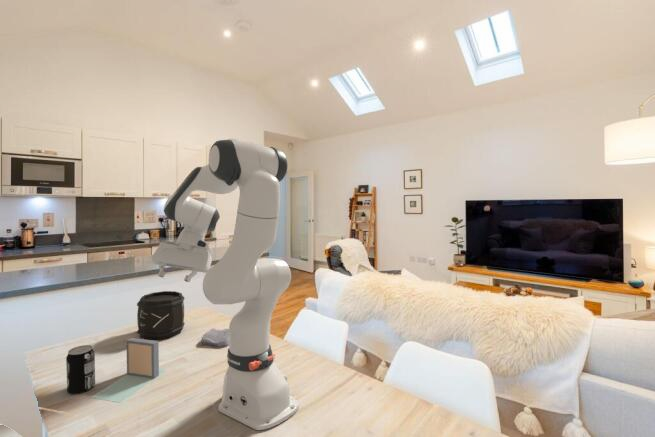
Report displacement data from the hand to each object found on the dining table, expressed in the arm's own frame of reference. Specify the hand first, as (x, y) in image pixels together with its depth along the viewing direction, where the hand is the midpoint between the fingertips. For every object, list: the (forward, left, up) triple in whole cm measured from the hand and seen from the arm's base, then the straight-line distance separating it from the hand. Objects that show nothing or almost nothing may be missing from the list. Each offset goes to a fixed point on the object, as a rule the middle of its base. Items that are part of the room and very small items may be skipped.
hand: (173, 278), depth 114 cm
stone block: (+2, -18, -29) cm, 34 cm away
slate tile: (-5, +12, -28) cm, 31 cm away
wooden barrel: (+27, -5, -29) cm, 40 cm away
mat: (-7, +16, -28) cm, 33 cm away
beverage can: (0, +27, -29) cm, 39 cm away
